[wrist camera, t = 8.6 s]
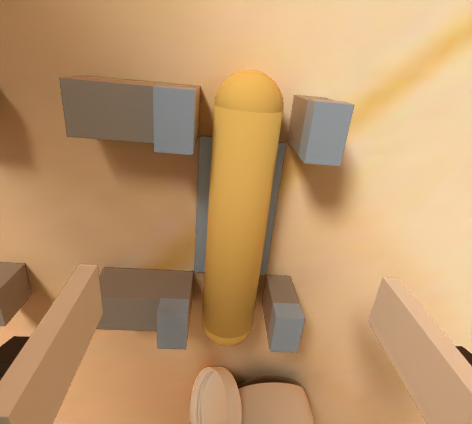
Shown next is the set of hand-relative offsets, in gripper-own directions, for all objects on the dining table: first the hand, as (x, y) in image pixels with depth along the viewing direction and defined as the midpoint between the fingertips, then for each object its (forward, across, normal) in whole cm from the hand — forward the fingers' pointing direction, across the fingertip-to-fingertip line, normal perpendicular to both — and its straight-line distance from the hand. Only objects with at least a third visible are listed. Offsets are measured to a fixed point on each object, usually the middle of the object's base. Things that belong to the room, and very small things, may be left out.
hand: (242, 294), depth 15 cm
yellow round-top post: (+10, 0, -1) cm, 10 cm away
